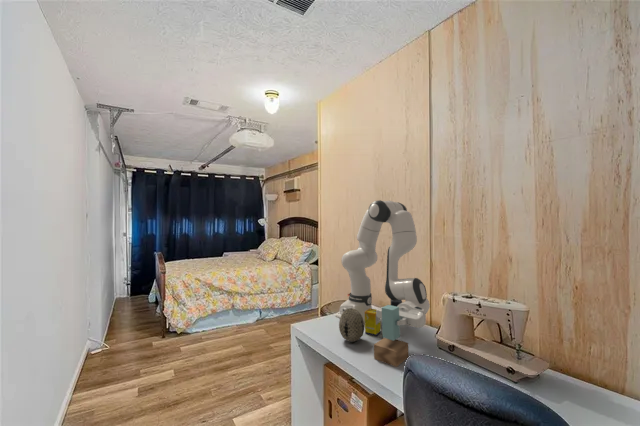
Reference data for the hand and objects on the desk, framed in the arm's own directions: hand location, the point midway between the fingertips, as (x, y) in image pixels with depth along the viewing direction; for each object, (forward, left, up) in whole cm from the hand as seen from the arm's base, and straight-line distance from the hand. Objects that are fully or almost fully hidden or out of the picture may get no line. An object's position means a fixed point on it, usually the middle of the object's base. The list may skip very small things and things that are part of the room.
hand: (389, 321), depth 117 cm
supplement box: (-20, +17, -15) cm, 30 cm away
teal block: (0, +1, -6) cm, 7 cm away
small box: (-22, +43, -15) cm, 51 cm away
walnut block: (0, +1, -15) cm, 15 cm away
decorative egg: (-22, +3, -15) cm, 27 cm away
